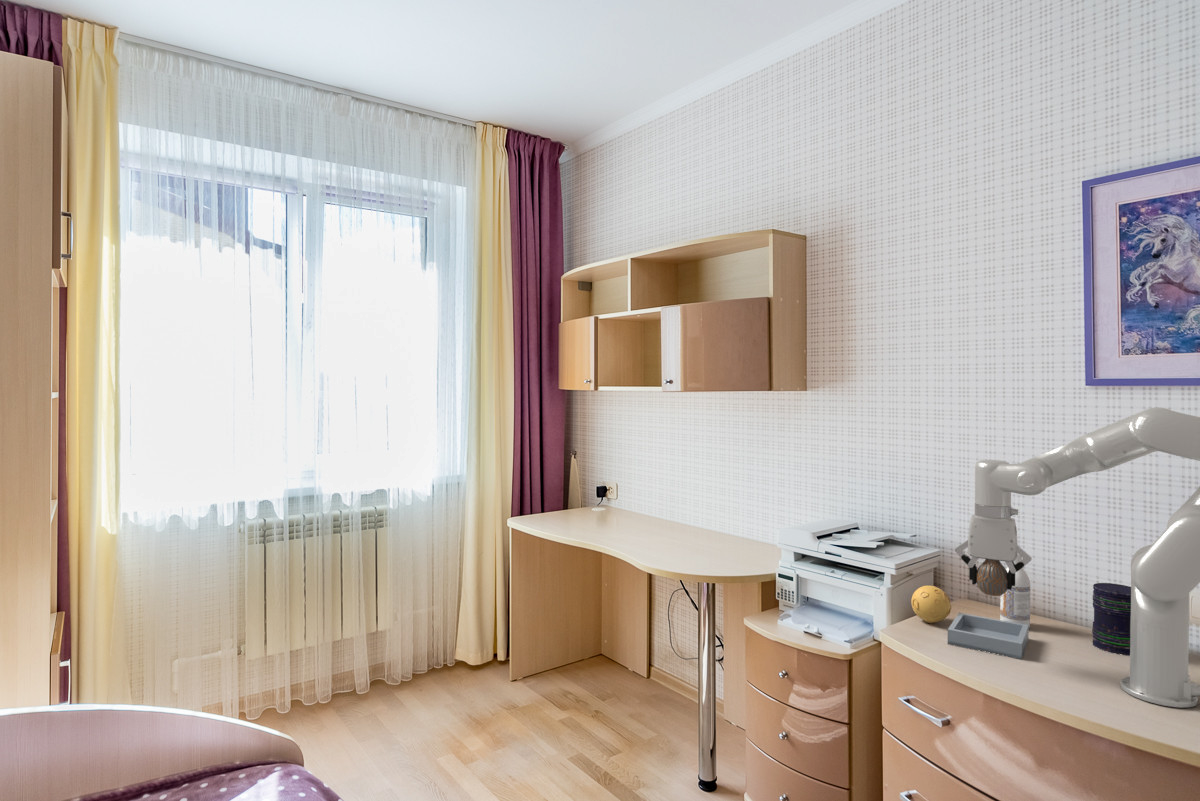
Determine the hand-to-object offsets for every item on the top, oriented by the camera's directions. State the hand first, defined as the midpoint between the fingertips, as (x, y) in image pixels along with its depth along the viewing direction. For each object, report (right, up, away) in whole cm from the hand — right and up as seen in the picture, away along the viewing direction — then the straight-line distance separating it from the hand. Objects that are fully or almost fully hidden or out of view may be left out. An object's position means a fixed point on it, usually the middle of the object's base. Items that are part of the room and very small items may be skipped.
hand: (991, 585), depth 161 cm
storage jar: (+35, -18, +7) cm, 40 cm away
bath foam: (+19, -17, +22) cm, 34 cm away
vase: (0, -2, 0) cm, 2 cm away
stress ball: (-2, -17, +25) cm, 31 cm away
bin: (+5, -17, +11) cm, 21 cm away
